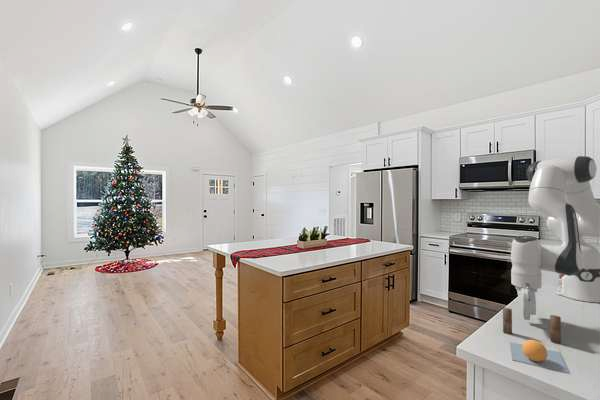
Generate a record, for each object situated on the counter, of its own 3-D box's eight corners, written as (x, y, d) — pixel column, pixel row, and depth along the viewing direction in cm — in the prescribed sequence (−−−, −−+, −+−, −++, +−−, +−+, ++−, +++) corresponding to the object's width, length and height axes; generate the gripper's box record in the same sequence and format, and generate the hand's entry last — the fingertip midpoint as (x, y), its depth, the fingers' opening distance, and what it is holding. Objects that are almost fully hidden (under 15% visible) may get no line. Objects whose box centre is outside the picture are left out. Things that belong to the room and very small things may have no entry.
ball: (522, 361, 84) (521, 342, 87) (547, 367, 81) (545, 347, 84) (523, 353, 81) (522, 334, 84) (549, 359, 78) (547, 339, 81)
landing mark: (509, 342, 93) (509, 341, 93) (559, 352, 86) (559, 352, 86) (512, 360, 83) (512, 359, 83) (569, 373, 76) (569, 372, 76)
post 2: (550, 339, 95) (549, 314, 95) (560, 341, 93) (559, 316, 93) (551, 342, 93) (550, 317, 93) (561, 344, 91) (561, 318, 91)
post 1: (503, 330, 102) (502, 307, 102) (511, 332, 100) (511, 308, 100) (503, 333, 99) (502, 309, 100) (512, 335, 98) (512, 311, 98)
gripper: (541, 289, 97) (541, 331, 97) (533, 275, 114) (534, 311, 114) (517, 286, 100) (518, 327, 100) (513, 273, 118) (514, 308, 118)
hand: (526, 318), depth 107 cm, fingers closed
